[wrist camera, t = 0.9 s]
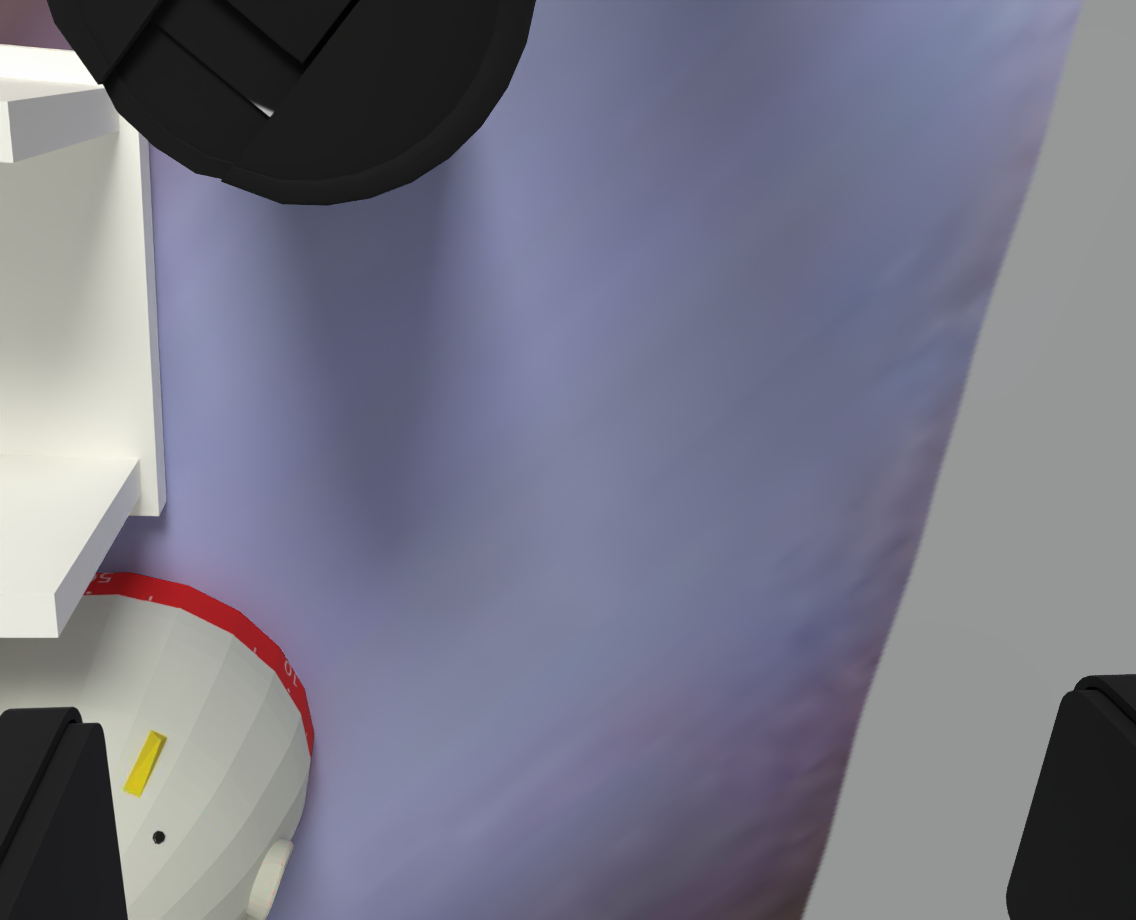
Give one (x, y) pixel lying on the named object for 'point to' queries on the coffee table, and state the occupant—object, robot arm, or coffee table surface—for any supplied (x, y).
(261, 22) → the travel mug
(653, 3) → the coffee table surface
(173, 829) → the kitchen timer
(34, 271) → the holder
